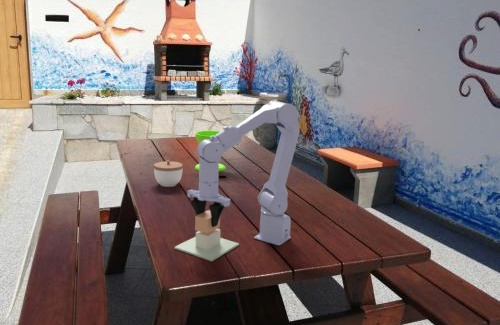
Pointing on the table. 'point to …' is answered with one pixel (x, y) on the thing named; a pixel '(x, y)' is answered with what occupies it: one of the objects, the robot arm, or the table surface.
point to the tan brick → (205, 222)
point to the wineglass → (205, 136)
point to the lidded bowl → (168, 173)
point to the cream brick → (208, 239)
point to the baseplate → (209, 254)
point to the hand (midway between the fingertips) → (207, 223)
